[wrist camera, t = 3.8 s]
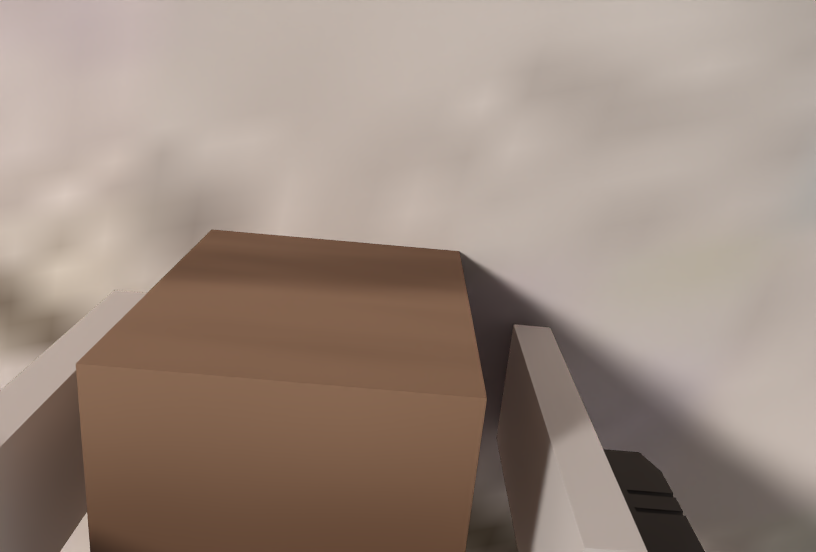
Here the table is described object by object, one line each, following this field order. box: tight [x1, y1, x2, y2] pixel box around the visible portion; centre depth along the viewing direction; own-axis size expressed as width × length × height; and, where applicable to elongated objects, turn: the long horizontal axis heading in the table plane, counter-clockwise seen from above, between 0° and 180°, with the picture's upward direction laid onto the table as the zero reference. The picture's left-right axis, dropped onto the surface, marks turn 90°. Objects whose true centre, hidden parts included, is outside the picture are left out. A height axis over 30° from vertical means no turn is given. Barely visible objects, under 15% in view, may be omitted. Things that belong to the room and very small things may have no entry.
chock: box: [76, 230, 487, 552], centre depth 12 cm, size 6×5×6 cm
